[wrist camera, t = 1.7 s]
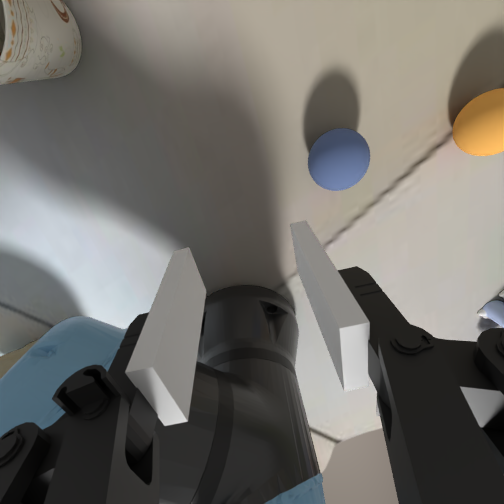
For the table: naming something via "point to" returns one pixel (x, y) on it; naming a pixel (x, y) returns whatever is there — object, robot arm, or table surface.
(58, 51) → the mug
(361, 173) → the blue ball
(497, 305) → the hippopotamus toy
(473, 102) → the orange ball
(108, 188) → the table surface
